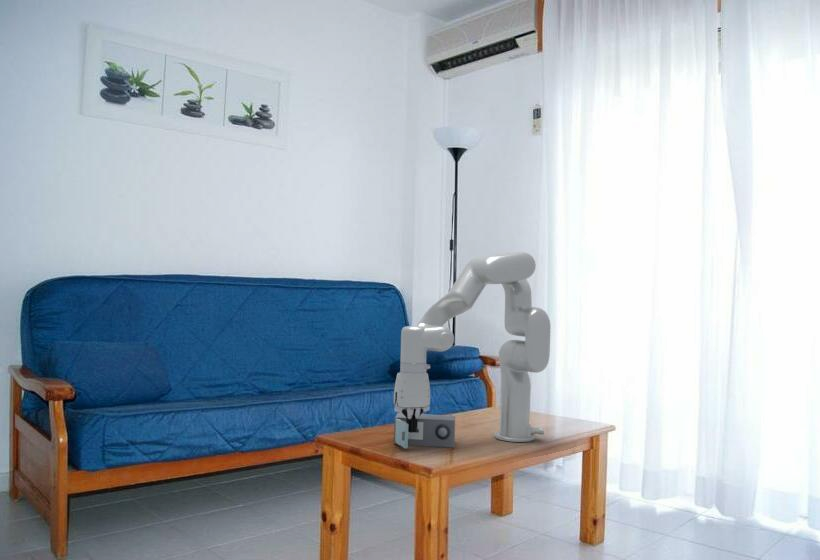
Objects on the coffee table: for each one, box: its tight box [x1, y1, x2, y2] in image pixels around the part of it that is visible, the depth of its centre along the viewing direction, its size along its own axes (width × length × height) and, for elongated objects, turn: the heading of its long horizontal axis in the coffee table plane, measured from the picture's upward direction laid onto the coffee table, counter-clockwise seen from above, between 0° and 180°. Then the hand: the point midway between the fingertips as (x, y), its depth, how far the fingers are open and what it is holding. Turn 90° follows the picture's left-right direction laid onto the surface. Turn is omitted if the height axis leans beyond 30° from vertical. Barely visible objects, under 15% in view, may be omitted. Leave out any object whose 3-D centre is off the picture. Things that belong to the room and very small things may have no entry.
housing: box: [393, 412, 456, 448], centre depth 196 cm, size 18×9×9 cm, turn 85°
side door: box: [395, 419, 409, 449], centre depth 188 cm, size 8×2×7 cm, turn 21°
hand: (411, 431), depth 188 cm, fingers closed
